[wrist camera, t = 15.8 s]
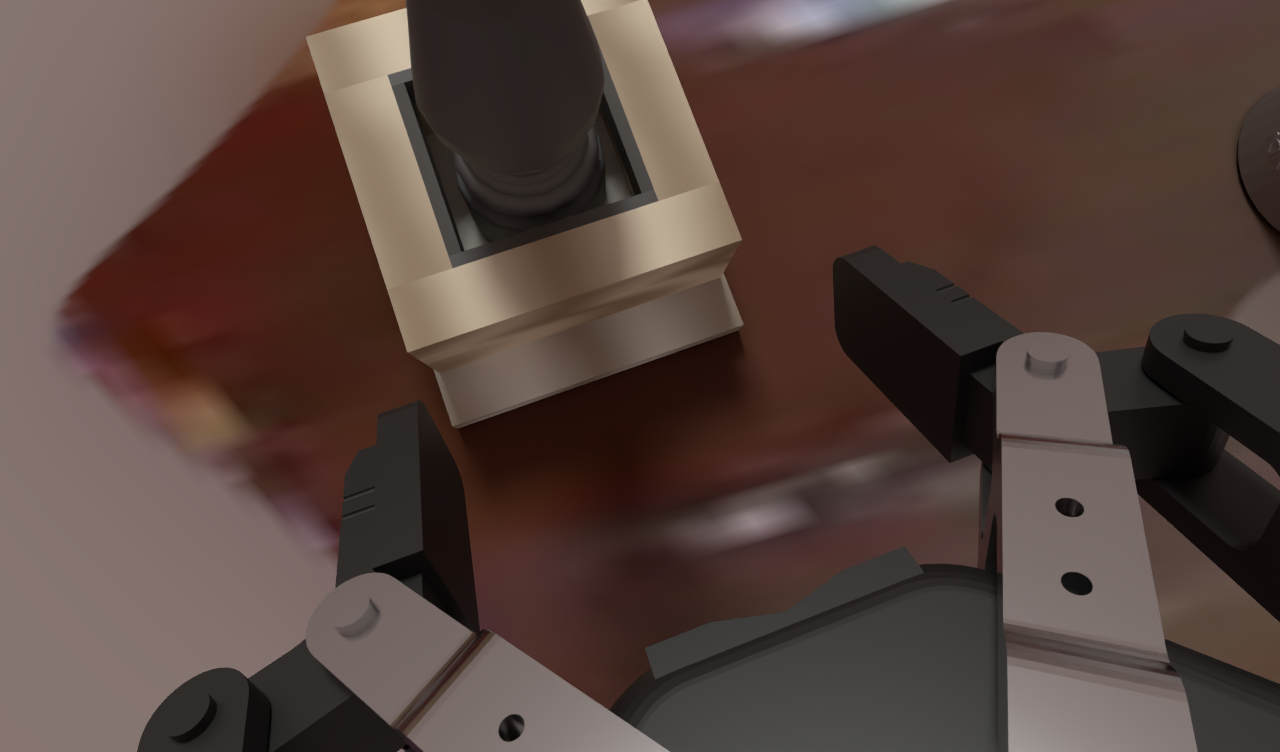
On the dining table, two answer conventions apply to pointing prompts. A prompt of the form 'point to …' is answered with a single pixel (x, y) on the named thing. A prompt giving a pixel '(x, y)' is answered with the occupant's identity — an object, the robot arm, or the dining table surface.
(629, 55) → the socket
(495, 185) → the candle holder
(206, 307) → the dining table surface
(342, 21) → the dining table surface
